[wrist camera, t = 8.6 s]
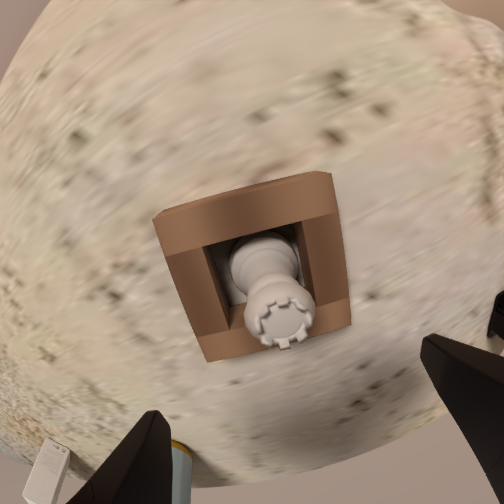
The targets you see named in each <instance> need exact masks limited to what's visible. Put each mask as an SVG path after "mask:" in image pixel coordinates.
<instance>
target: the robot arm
mask: <svg viewBox="0 0 504 504" xmlns="http://www.w3.org/2000/svg"><path fill="white" fill-rule="evenodd" d="M496 334H497V335H498V336H499V337H500V338H502V339H503V340H504V291H502V292H501V293H499V294H498V295H497V297H496V302H495V306H494V311H493V316H492V320H491V324H490V328H489V332H488V337H489V338H492V337H493V336H495V335H496ZM420 358H421V361H422V363H423V365H424V367H425V369H426V371H427V373H428V375H429V377H430V379H431V381H432V383H433V385H434V387H435V389H436V391H437V392H438V394H439V396H440V397H441V399H442V401H443V402H444V404H445V405H446V407H447V408H448V410H449V412H450V413H451V415H452V416H453V418H454V419H455V421H456V423H457V425H458V426H459V428H460V429H461V431H462V433H463V434H464V436H465V438H466V440H467V441H468V443H469V445H470V447H471V448H472V450H473V452H474V454H475V455H476V457H477V459H478V461H479V463H480V465H481V466H482V468H483V470H484V472H485V473H486V476H487V478H488V480H489V482H490V484H491V486H492V488H493V490H494V492H495V494H496V496H497V498H498V500H499V502H500V504H504V357H503V356H500V355H497V354H494V353H491V352H488V351H485V350H482V349H479V348H476V347H473V346H470V345H467V344H464V343H461V342H458V341H455V340H452V339H449V338H446V337H443V336H440V335H438V334H434V333H432V334H430V335H428V336H426V337H424V338H423V340H422V346H421V353H420ZM172 483H173V458H172V444H171V429H170V425H169V424H168V422H167V421H166V419H165V418H164V417H163V415H162V414H161V413H160V411H158V410H152V411H147V412H145V414H144V415H143V416H142V417H141V418H140V420H139V421H138V422H137V423H136V424H135V426H134V427H133V428H132V429H131V430H130V432H129V433H128V434H127V435H126V436H125V438H124V439H123V440H122V441H121V442H120V444H119V445H118V446H117V447H116V448H115V450H114V451H113V452H112V453H111V454H110V455H109V457H108V458H107V459H106V460H105V461H104V463H103V464H102V465H101V466H100V467H99V468H98V470H97V471H96V472H95V473H94V474H93V475H92V477H91V478H90V479H89V480H88V481H87V482H86V483H85V485H84V486H83V487H82V488H81V489H80V490H79V491H78V492H77V493H76V495H74V496H73V497H72V498H71V499H70V500H69V501H68V502H67V503H66V504H172Z"/></svg>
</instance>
